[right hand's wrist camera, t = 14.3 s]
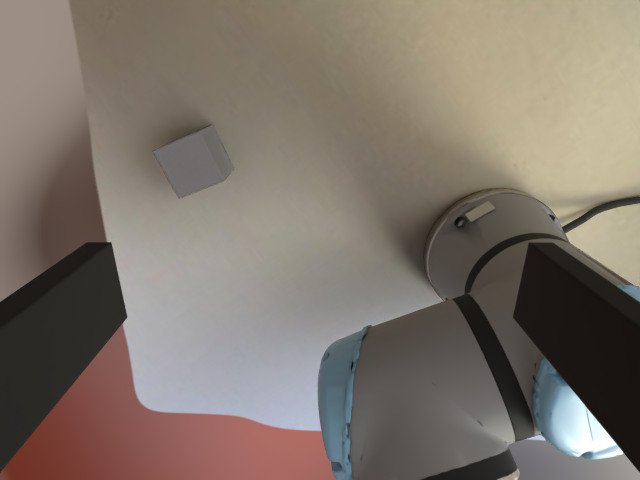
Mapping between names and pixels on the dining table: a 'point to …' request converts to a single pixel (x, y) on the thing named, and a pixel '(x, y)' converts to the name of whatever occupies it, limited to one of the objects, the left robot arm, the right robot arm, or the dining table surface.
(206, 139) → the grey block
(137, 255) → the dining table surface
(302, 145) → the dining table surface
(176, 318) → the dining table surface
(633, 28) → the dining table surface
